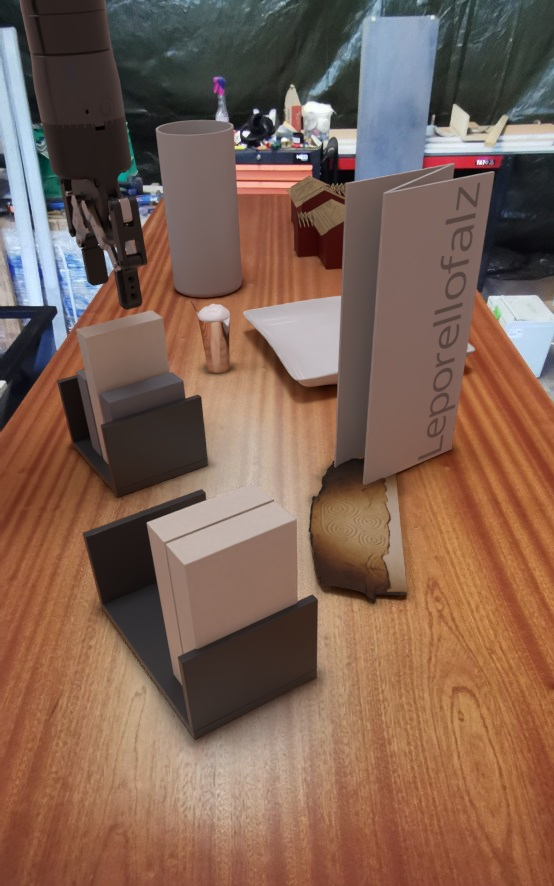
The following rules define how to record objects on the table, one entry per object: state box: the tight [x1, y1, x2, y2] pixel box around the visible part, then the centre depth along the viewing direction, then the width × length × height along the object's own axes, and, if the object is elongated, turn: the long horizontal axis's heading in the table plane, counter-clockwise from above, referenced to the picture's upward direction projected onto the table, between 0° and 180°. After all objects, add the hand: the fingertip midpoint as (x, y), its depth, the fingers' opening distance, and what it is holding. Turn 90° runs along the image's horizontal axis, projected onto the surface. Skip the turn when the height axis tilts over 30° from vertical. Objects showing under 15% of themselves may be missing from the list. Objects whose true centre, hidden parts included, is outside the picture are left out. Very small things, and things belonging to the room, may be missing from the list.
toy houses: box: [285, 175, 347, 270], centre depth 146 cm, size 45×20×10 cm, turn 8°
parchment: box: [308, 458, 408, 601], centre depth 79 cm, size 25×10×1 cm, turn 176°
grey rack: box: [56, 368, 209, 498], centre depth 88 cm, size 12×14×11 cm
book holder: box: [82, 481, 319, 740], centre depth 62 cm, size 12×19×17 cm, turn 33°
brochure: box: [333, 162, 496, 485], centre depth 79 cm, size 14×6×30 cm, turn 126°
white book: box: [75, 309, 171, 464], centre depth 85 cm, size 9×3×16 cm, turn 123°
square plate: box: [242, 295, 476, 388], centre depth 112 cm, size 27×27×4 cm
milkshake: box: [190, 300, 231, 374], centre depth 106 cm, size 4×5×10 cm
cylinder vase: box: [155, 119, 243, 299], centre depth 127 cm, size 12×12×25 cm
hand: (114, 295), depth 77 cm, fingers open, 8 cm apart
